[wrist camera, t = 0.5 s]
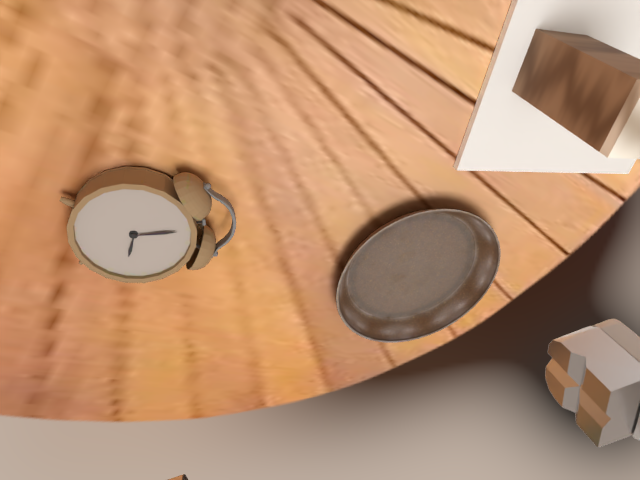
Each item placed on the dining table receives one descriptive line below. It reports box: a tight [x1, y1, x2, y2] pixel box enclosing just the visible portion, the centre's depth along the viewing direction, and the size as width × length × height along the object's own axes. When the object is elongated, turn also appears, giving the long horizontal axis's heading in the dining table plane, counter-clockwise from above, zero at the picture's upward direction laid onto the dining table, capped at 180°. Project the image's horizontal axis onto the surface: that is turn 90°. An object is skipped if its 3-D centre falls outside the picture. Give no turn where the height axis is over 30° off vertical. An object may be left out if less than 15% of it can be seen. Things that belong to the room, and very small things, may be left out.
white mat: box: [453, 0, 640, 174], centre depth 54 cm, size 24×24×1 cm
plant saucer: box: [336, 208, 500, 342], centre depth 64 cm, size 21×21×3 cm
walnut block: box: [512, 29, 640, 159], centre depth 46 cm, size 6×6×14 cm
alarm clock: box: [60, 166, 236, 283], centre depth 50 cm, size 11×5×15 cm
